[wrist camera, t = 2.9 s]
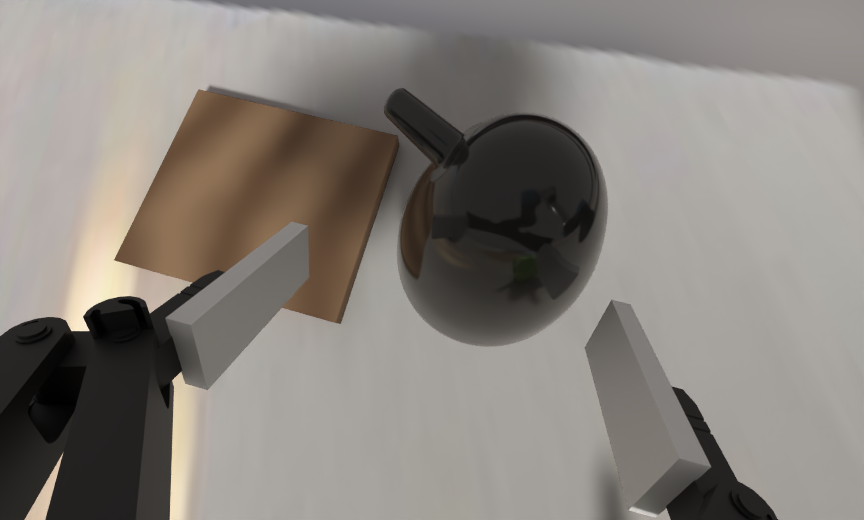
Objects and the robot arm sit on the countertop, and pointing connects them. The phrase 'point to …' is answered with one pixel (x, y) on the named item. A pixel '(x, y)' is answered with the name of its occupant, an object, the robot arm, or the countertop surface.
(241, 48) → the countertop surface
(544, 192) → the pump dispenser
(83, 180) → the countertop surface
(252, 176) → the plate
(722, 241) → the countertop surface
